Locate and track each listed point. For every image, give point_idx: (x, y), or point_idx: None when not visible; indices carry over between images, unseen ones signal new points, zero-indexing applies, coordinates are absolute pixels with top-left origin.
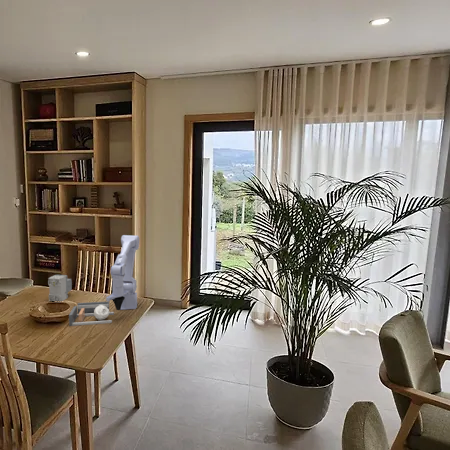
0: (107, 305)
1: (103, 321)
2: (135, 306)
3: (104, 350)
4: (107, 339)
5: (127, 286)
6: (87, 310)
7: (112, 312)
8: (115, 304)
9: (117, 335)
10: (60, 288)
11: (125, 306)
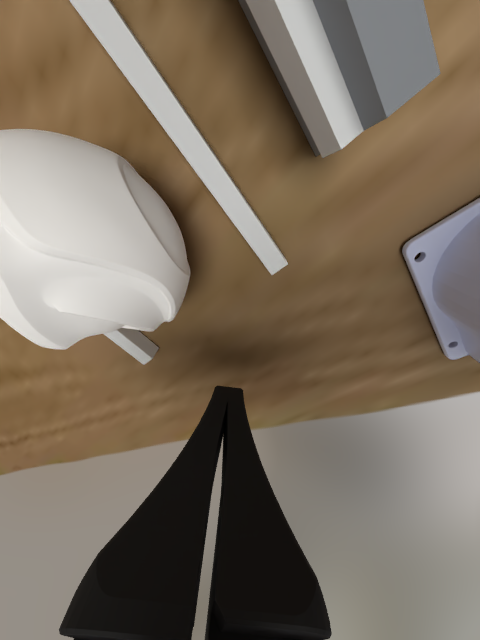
0: (318, 128)
1: None
2: (474, 356)
3: (5, 455)
4: (43, 429)
5: None
6: None
7: (268, 261)
8: (196, 445)
9: (95, 439)
10: None
11: (449, 296)
